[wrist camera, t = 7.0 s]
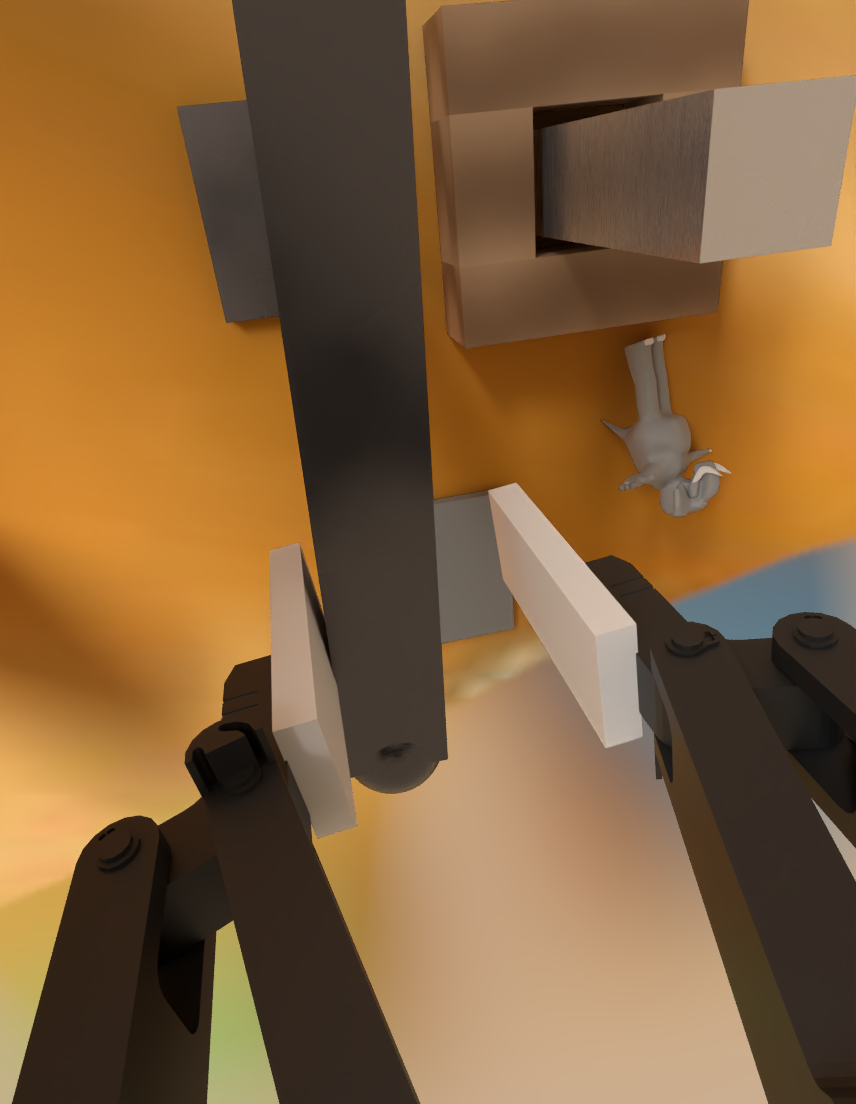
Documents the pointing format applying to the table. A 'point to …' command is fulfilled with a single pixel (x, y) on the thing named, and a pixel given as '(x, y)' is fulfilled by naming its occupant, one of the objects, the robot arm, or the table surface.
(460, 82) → the eye block
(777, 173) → the peg
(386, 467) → the dark grey bar
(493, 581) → the mat
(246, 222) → the handle post
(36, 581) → the table surface
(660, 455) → the elephant figurine
